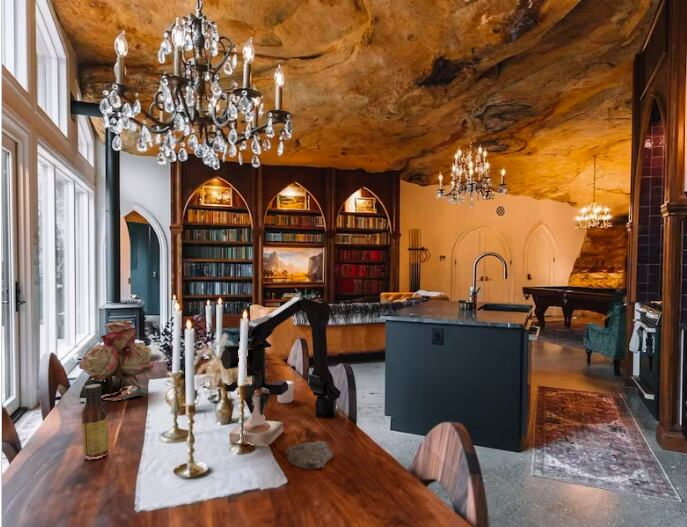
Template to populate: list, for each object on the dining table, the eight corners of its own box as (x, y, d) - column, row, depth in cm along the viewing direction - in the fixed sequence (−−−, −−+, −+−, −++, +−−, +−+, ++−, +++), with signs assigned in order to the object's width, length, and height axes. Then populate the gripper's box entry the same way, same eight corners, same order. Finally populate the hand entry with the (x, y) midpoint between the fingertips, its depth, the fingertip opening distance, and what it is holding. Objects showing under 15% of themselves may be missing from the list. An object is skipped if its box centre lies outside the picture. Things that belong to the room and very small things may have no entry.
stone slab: (290, 475, 117) (290, 464, 117) (284, 448, 133) (284, 437, 133) (337, 470, 119) (337, 459, 119) (326, 444, 136) (326, 434, 136)
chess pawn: (246, 422, 141) (245, 393, 141) (261, 418, 144) (260, 390, 144) (253, 427, 137) (252, 397, 137) (268, 423, 140) (267, 394, 140)
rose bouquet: (73, 408, 170) (72, 327, 169) (96, 386, 198) (94, 317, 197) (148, 401, 176) (146, 324, 175) (159, 381, 204) (158, 314, 204)
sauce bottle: (114, 453, 130) (112, 383, 129) (95, 463, 124) (94, 389, 123) (96, 450, 132) (94, 381, 131) (77, 459, 126) (75, 387, 126)
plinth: (282, 431, 145) (282, 421, 145) (266, 447, 133) (266, 436, 133) (248, 428, 148) (247, 418, 148) (229, 443, 136) (229, 432, 136)
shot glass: (292, 403, 172) (292, 385, 172) (274, 403, 172) (274, 385, 172) (295, 397, 179) (295, 380, 179) (277, 397, 179) (277, 380, 179)
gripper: (214, 368, 134) (215, 421, 135) (273, 371, 130) (274, 426, 130) (233, 359, 145) (234, 408, 146) (288, 362, 140) (289, 413, 141)
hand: (256, 414), depth 140 cm, fingers closed on chess pawn, 3 cm apart
